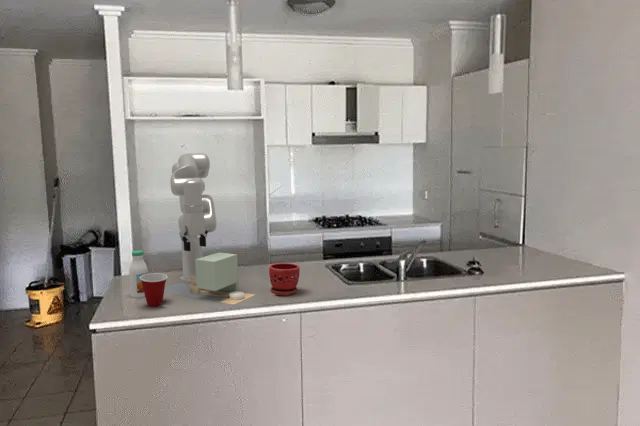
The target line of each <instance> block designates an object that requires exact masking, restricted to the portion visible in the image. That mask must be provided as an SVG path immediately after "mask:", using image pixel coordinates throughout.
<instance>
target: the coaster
mask: <svg viewBox="0 0 640 426" xmlns="http://www.w3.org/2000/svg"><path fill="white" fill-rule="evenodd" d="M244 293H245V292H244V291H241V290H240V291H235V292H231V293H229V299H231V300H241V299H243V298H244Z"/></svg>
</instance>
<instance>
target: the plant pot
mask: <svg viewBox="0 0 640 426" xmlns="http://www.w3.org/2000/svg"><path fill="white" fill-rule="evenodd" d="M300 271H301V270H300V266H299V264H296V263H290V262H289V263H286V262H285V263H284V262H283V263H280V262H279V263H273V264H270V265H269V267H268V275H269V282H270V285H271V286H272V287H270V288H269V289H270V292H271V293H273V294H275V296H291V295H293V294H295V293H297V292H298V287H297V285H298V283H299V280H300Z"/></svg>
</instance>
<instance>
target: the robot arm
mask: <svg viewBox="0 0 640 426" xmlns="http://www.w3.org/2000/svg"><path fill="white" fill-rule="evenodd" d="M210 164H211V162H210V158H209V156H208V155H207V154H206V153H204V152H203V153H201V152H200V153H199V152H197V153H195V152H194V153H192V152H191V153H184V154H181V155H179V158H178V160H177V162H176V163H174V164H173V165H172V167H171V173H172V174H171V175H170V179H169V182H170V183H169V184H170V190H171V193H172V194H173V195H174V196H177V197H178V196H179V207H180V211H181V213H182V215H180V216H179V218H178V224H177V225H178V229H179V233H178V235H179V237H180V242H181V243H180V244H181V260H182V262H181V263H182V275H181V276H180V277H179V279H180V280H182V281H190V280H189V277H190V276H193V275H196V265H195V259H198V258H202V257H204V256H203V247H204V248H206V247H207V237H208V233H213V232H215V231H216V229H217V216H216V215H217V214H216V210H215V209H216V208H215V203H214V202H215V201H214V199H213V197H212V196H211V195H210V194H203V193H204V191H205V190H206V189H205V188H206V185H205V181H204V180H203V179H205V178H207V177H208V175H209V171H210V168H211V167H210V166H211V165H210Z"/></svg>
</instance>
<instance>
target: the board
mask: <svg viewBox="0 0 640 426" xmlns="http://www.w3.org/2000/svg"><path fill="white" fill-rule="evenodd" d="M206 290H208V289H206ZM212 291H214V290H212ZM216 291H218V292H225V293H231V292H227V291H221V290H216ZM164 294H168V295H169V294H170V295H175V296H180V297H181V296H182V297H187V298H193V299H198V300H205V301H210V302H216V303H221V301H224V300H226V299H229V298H224V297H218V296H212V295H206V294H200V293H198V294H197V293H191V292H190V283H182V282H178V283H175V284H172V285H168V286H165V288H164Z"/></svg>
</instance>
